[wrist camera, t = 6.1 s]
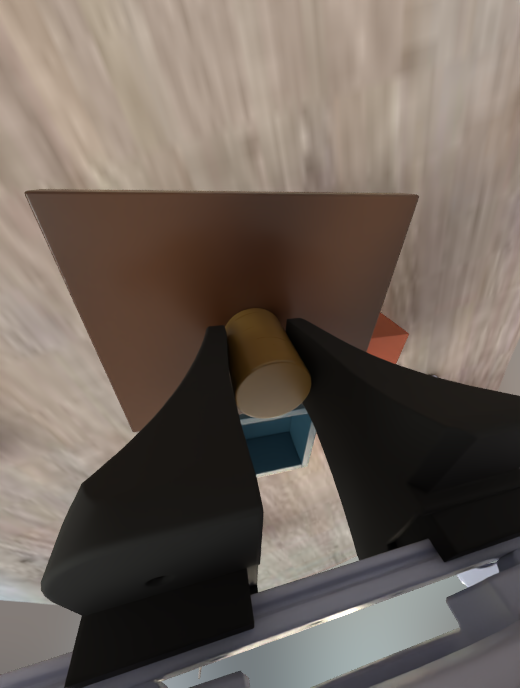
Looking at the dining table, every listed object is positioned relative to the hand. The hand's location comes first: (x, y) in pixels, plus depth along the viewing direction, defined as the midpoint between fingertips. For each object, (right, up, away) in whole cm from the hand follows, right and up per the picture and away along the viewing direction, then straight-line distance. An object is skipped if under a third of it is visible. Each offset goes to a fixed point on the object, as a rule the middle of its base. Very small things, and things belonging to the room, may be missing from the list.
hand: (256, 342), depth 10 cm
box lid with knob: (0, +1, +1) cm, 2 cm away
